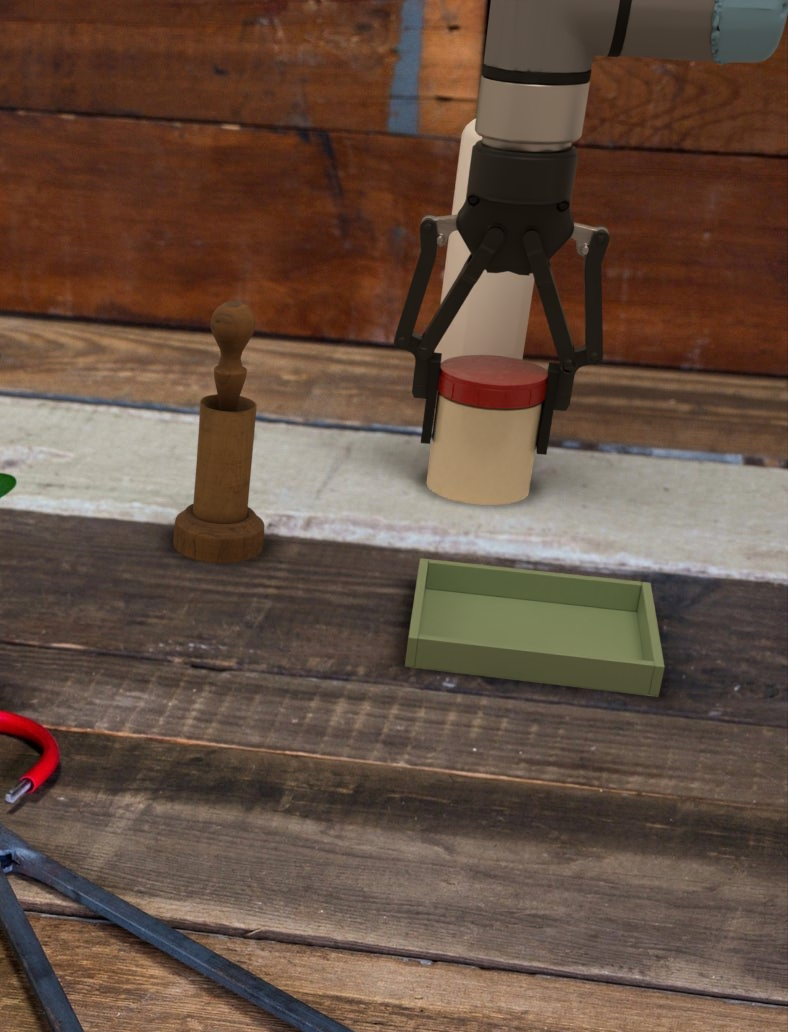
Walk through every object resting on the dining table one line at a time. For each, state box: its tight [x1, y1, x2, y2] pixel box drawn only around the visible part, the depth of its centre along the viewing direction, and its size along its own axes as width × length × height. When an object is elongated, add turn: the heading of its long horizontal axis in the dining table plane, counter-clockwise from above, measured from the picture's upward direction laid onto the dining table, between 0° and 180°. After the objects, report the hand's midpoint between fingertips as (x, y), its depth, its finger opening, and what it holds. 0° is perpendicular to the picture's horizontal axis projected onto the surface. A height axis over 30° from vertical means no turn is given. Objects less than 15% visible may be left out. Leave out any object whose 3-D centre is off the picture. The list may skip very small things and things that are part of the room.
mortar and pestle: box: [172, 301, 265, 564], centre depth 118 cm, size 7×6×18 cm
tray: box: [404, 557, 666, 698], centre depth 109 cm, size 15×13×2 cm
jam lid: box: [437, 355, 548, 408], centre depth 130 cm, size 8×8×2 cm
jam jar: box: [425, 391, 543, 506], centre depth 132 cm, size 8×8×10 cm
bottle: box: [434, 117, 535, 363], centre depth 152 cm, size 8×8×28 cm
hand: (483, 443), depth 132 cm, fingers closed on jam lid, 8 cm apart
